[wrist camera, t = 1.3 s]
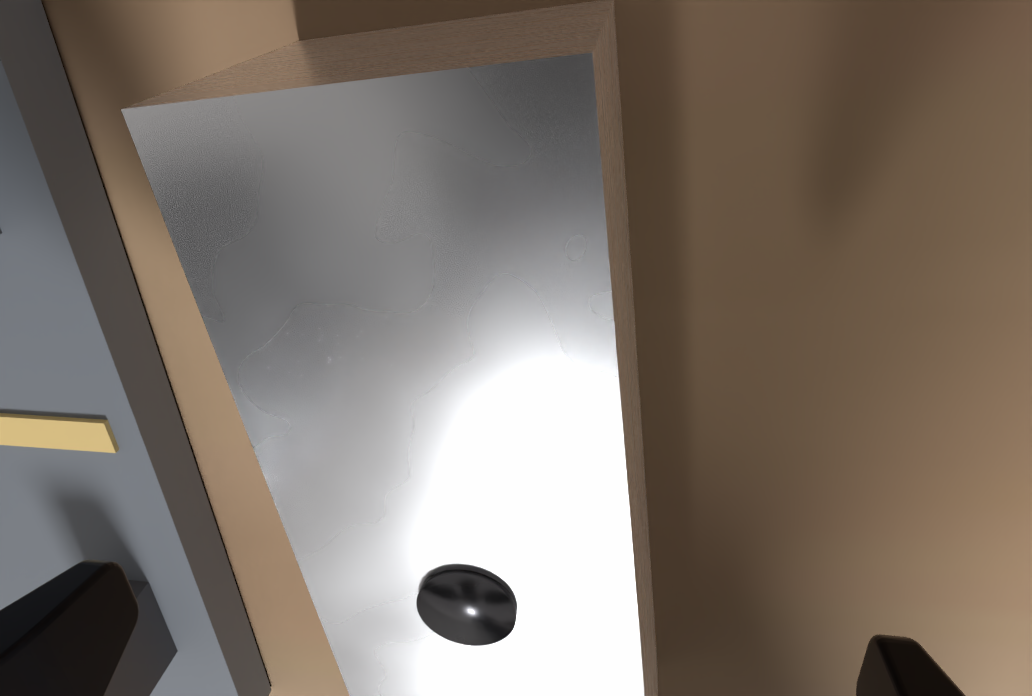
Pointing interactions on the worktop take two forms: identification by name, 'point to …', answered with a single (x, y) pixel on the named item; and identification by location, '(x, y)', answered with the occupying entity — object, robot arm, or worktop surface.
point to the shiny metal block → (432, 339)
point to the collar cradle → (96, 402)
